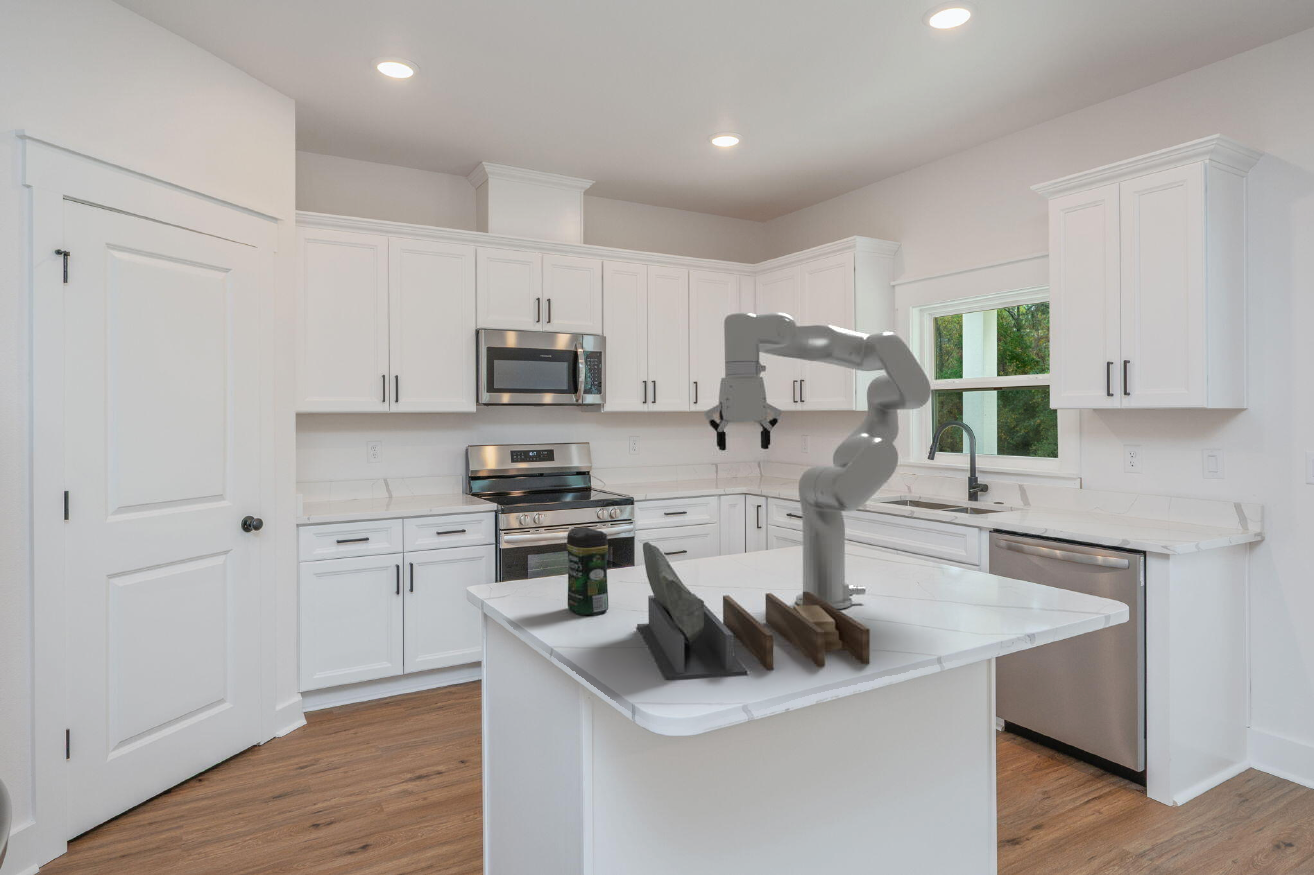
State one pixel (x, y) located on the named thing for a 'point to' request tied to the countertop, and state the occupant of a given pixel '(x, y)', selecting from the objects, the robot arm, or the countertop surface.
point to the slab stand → (689, 646)
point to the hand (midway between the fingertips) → (743, 449)
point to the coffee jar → (587, 571)
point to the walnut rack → (794, 630)
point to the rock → (674, 594)
